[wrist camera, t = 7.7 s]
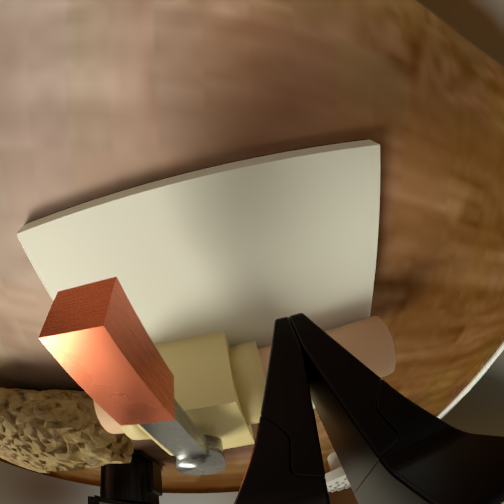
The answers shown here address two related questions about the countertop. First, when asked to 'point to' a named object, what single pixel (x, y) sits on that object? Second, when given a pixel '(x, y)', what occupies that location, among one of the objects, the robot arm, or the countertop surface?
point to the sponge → (56, 432)
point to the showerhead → (336, 475)
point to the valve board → (231, 270)
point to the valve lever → (125, 370)
